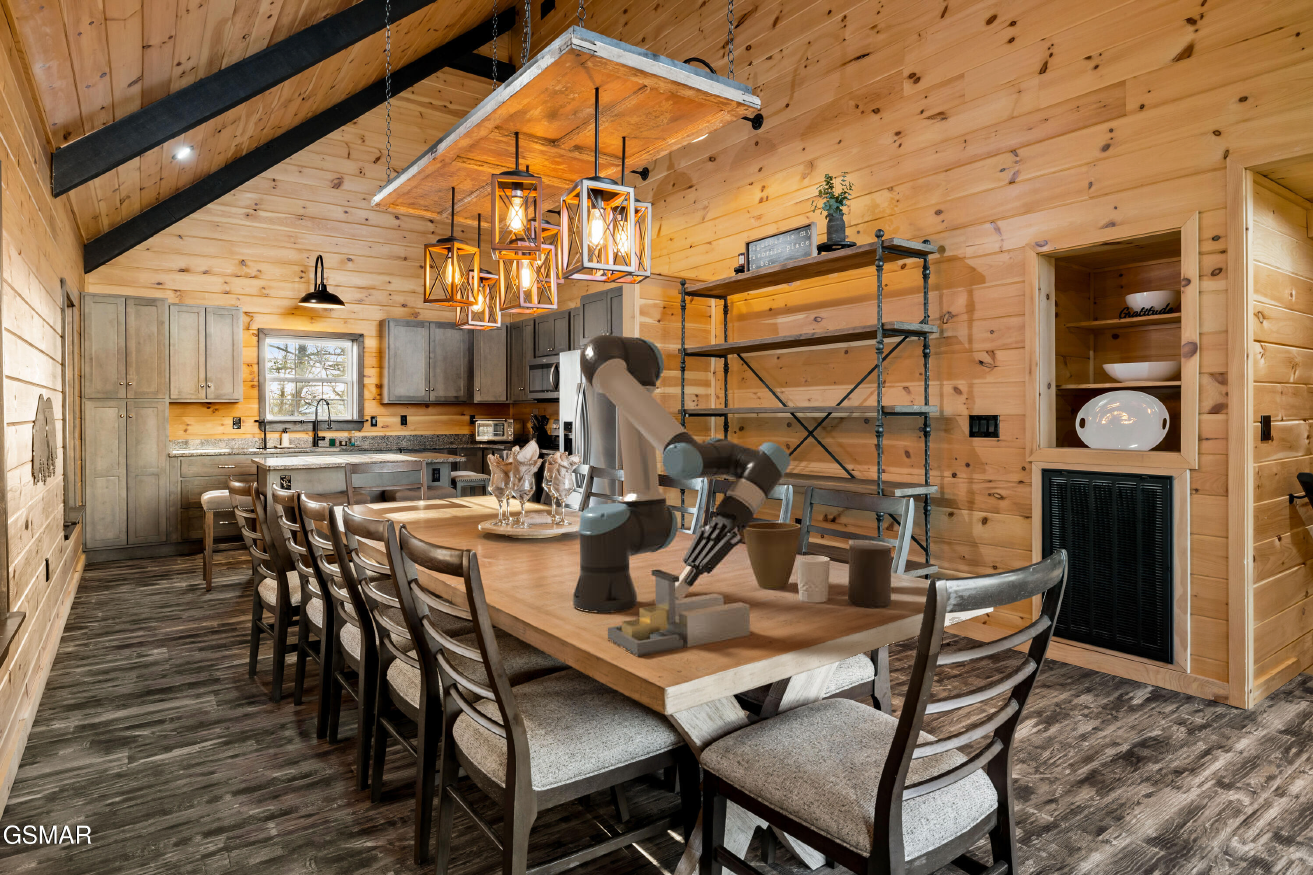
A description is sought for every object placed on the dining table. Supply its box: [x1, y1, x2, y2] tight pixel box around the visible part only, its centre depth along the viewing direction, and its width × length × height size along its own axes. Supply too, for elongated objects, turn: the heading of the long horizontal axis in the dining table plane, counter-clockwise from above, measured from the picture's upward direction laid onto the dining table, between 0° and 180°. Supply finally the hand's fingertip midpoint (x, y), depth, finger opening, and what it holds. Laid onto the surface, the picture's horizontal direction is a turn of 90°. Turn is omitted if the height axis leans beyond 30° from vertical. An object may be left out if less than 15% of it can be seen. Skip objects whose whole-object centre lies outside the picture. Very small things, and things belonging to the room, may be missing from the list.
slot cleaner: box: [651, 568, 680, 622], centre depth 144 cm, size 2×8×9 cm, turn 31°
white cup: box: [796, 554, 831, 604], centre depth 175 cm, size 8×8×10 cm
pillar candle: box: [847, 539, 892, 608], centre depth 172 cm, size 10×10×15 cm
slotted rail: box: [664, 593, 751, 648], centre depth 148 cm, size 15×12×6 cm
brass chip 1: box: [621, 618, 650, 641], centre depth 140 cm, size 4×4×4 cm
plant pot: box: [743, 521, 802, 590], centre depth 190 cm, size 15×15×16 cm
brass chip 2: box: [639, 604, 668, 633], centre depth 142 cm, size 4×4×4 cm
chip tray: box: [607, 624, 684, 657], centre depth 141 cm, size 10×12×2 cm
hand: (674, 596), depth 144 cm, fingers closed
